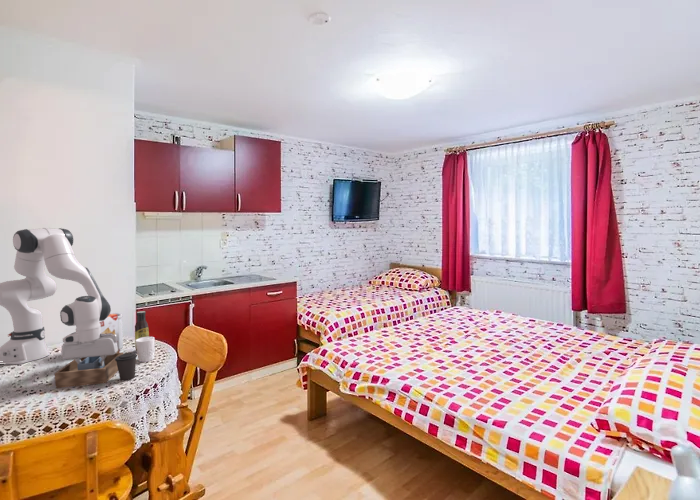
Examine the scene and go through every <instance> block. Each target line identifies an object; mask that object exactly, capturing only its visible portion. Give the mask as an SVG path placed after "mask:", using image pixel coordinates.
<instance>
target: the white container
mask: <svg viewBox="0 0 700 500" xmlns="http://www.w3.org/2000/svg"><path fill="white" fill-rule="evenodd" d="M110 314H117V316H118V333H119V350H121V349H123V346H124V343H123V342H124V339H123V338H124V335H123V319H122V318H123V314H122V313H119V312H110Z"/></svg>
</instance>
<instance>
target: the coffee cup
mask: <svg viewBox="0 0 700 500" xmlns="http://www.w3.org/2000/svg"><path fill="white" fill-rule="evenodd" d="M137 358H138V355H137V353H133V352H130V353H123V355H120V356H118V357H116V358H115V361H116V362H117V367H118V372H117V373H118V376H119V380H120V381H122V382H126V381H131V380H133V379H135V378H136V367H137V366H136V363H137Z"/></svg>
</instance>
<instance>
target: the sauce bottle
mask: <svg viewBox="0 0 700 500" xmlns="http://www.w3.org/2000/svg"><path fill="white" fill-rule="evenodd" d="M146 314H147V312H146V311H145V310H143V311H137V312H136V322H135V325H134V345H135V346H134V348H135V352H136V353H137V348H136V340H137V339H139V338H142V337H150V332H149V331H150V330H149V324H148V322H147V320H146V319H147V318H146Z"/></svg>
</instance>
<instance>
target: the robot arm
mask: <svg viewBox="0 0 700 500" xmlns="http://www.w3.org/2000/svg"><path fill="white" fill-rule="evenodd" d="M12 244H13V247H14V249H15V250H16V254H15V259H14V266H13V269H14V270H15V271H14V272H16V273H17V275H18V274H19V275H21V276H23V277H25V278H23V279H22V278H21V279H16V280H7V281H6V280H5V281H2V282H0V306H1V307H3V308H4V309H6V310H7V312H8V313H9V314H10V316H11V319H12V326H13V331H12V332H9V333H8V334H7V337H10V338H9V339H8V341H6V342H5V343H3V344H2V345H1V346H0V361H3V362H0V363H6V364H5V365H21V364H26V363H30V362H31V361H32V362H33V361H37V360H40V359H43V358H45V357H47V356H49V355H50V354H51V352H50V351H49V349H48V346H47V343H46V332H45V331H46V330H45V326H44V324H43V323H44V321H43V314H42V313H43V312H41V310H39V309H37V308H34V307H30V306H29V305H28V302H31V301H37V300H43V299H46V298H49V297H51V296H54V295H55V293H56V292H57V289H58V287H57V283H56V281H55V280H54V279H53V278H51V277H50V276H48V275H47V273H46V271H45V269H46V270H47V271H48V273H49V274H50V275H51V276H53V277H54V278H57V279H62V280H68V281H73V282H76V283H78V284H79V285H81V286H82V287H83V288H84V290H85V292H86V294H87V295H83V296H82V295H81V296H78V297H76V298H75V299H74V301H73V302H71V303H69V304H65V305H64V306H63V307H61V310H60V311H59V314H60V315H59V316H60V321H61V323H62V324H63V325H66V326H68V327H73V326H74V327H75V331H74V332H72V333H70V334H67V335H66V336H64V337H63V338H62V342H63V343H62V345H61V353H60V354H61V357H62V359H63V360H72V359H73V360H74V359H75V361H76V362H77V363H78V364H79V363H80V362H82V361H81V360H80V359H81V358H85V357H96V356H101V358H102V360H101V361H100V362H98V364H99V366H103V365H104V360H105V358H106V356H107V355H114V354H115V353H116V352H117V351H118V347H117V343H116V341H117V338H116V335H115V334H112V333H109V334H101V325H100V322H99V321H103V320H105V319H106V318H107V317H108V316H109V314H110V313H112V312H111V311H112V310H111V305H110V303H109V302H108V300H107V299H106V298H105V295H103V293H102V291H101V289H100V287H99V285H98V283H97V281H96V280H95V278H94V276H93V275H92V273H91V271H90V270H89V268H88V267H86V266H84V265H82V264H81V263H80V261H78V259H77V257H76V254H75V251H74V249H73V245H74V236H73V233H72V231H70V230H69V229H65V228H62V227H61V228H51V227H48V228H47V227H42V228H31V229H27V228H25V229H20V230H17V231H16V232H15V233H14V234H13V237H12ZM45 267H46V268H45Z"/></svg>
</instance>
